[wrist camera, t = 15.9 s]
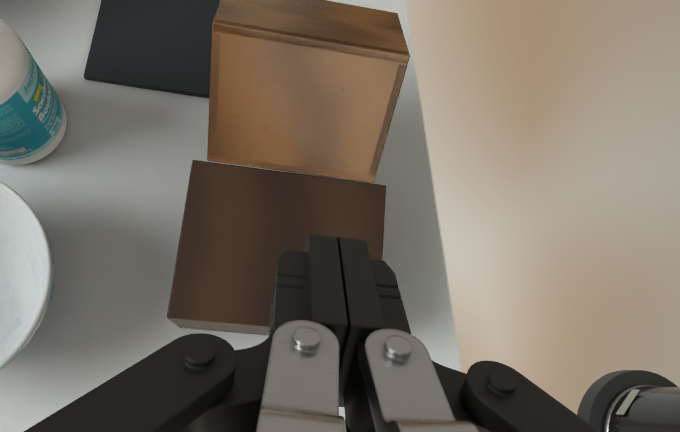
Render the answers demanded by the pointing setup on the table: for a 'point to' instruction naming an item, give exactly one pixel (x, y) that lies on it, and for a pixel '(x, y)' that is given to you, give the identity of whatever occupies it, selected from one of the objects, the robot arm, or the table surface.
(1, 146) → the pill bottle
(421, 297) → the table surface
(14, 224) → the chinaware
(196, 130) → the table surface
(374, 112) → the wooden box
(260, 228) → the stand
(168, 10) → the mat
